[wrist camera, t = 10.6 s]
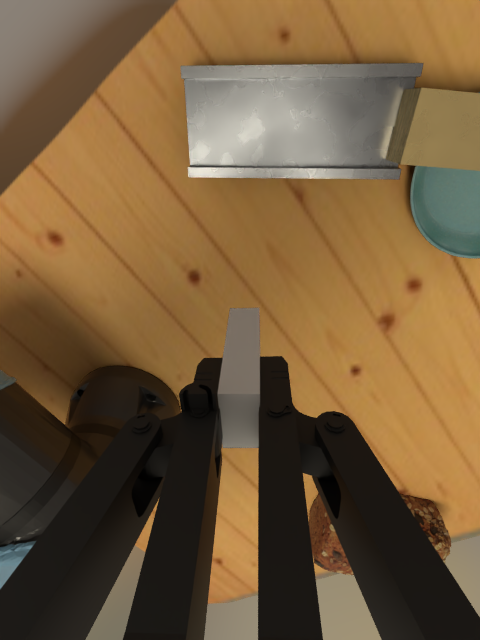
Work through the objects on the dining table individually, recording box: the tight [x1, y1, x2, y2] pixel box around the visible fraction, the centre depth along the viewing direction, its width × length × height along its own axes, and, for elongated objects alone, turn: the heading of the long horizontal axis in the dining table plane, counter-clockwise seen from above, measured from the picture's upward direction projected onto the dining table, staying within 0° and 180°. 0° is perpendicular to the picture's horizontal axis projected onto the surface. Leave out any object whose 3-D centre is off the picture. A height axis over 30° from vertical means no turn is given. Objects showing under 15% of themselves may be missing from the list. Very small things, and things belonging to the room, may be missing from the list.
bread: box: [309, 494, 451, 575], centre depth 55 cm, size 19×11×10 cm, turn 78°
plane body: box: [181, 63, 423, 179], centre depth 30 cm, size 18×8×4 cm, turn 90°
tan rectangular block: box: [386, 88, 480, 171], centre depth 28 cm, size 8×5×3 cm, turn 85°
